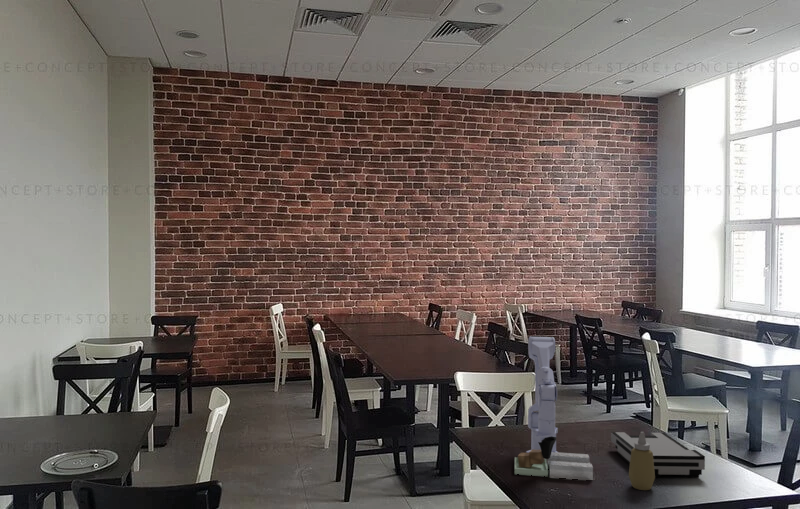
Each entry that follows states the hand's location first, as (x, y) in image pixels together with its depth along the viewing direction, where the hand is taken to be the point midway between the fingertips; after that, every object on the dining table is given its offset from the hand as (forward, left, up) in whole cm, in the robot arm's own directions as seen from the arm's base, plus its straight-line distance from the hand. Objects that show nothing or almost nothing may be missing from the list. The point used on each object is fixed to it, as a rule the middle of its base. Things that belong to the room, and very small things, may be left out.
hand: (546, 458), depth 218 cm
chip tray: (+3, -4, -4) cm, 7 cm away
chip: (+1, -3, -2) cm, 4 cm away
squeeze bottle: (-12, +29, -5) cm, 32 cm away
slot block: (-5, +6, -4) cm, 9 cm away
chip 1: (+3, -5, -1) cm, 6 cm away
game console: (-38, +19, -5) cm, 43 cm away
